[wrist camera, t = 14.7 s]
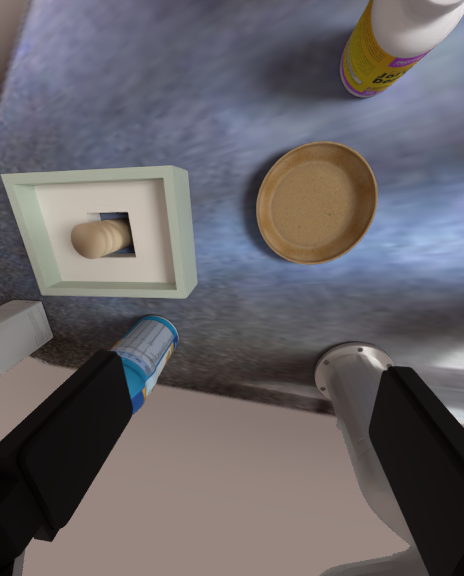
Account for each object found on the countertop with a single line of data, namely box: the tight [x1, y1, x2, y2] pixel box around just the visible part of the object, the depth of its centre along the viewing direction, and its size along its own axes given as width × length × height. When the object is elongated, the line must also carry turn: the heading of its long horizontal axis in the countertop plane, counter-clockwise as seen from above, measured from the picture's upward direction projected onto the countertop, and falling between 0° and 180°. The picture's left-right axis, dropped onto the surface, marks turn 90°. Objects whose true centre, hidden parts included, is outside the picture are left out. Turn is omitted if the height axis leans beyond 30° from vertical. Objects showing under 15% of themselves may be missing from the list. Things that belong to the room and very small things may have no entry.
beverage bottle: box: [108, 315, 178, 415], centre depth 34 cm, size 8×8×20 cm
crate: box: [1, 165, 198, 298], centre depth 34 cm, size 16×22×6 cm
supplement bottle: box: [340, 0, 464, 97], centre depth 20 cm, size 7×7×13 cm
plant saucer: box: [256, 141, 378, 265], centre depth 31 cm, size 15×15×3 cm
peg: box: [71, 218, 134, 259], centre depth 33 cm, size 4×4×8 cm
